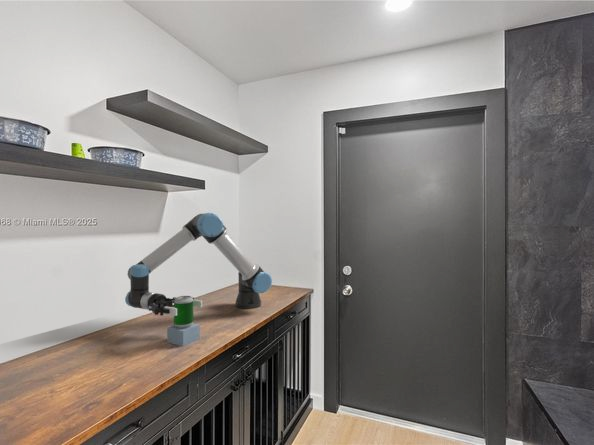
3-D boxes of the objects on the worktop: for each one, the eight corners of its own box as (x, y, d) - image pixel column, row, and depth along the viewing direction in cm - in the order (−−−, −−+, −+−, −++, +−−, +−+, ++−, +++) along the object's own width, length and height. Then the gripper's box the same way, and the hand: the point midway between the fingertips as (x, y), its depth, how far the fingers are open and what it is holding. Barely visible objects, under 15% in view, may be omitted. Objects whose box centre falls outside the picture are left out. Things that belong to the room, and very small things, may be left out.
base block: (184, 335, 137) (184, 321, 137) (199, 338, 133) (199, 324, 133) (167, 342, 129) (167, 327, 129) (183, 346, 125) (183, 331, 125)
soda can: (196, 324, 134) (196, 295, 134) (185, 329, 126) (186, 300, 126) (181, 322, 136) (181, 294, 136) (170, 328, 129) (170, 298, 129)
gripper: (176, 303, 150) (210, 309, 141) (127, 318, 128) (164, 325, 118) (176, 288, 150) (210, 292, 141) (127, 299, 128) (164, 305, 118)
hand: (189, 307), depth 130 cm, fingers open, 13 cm apart
